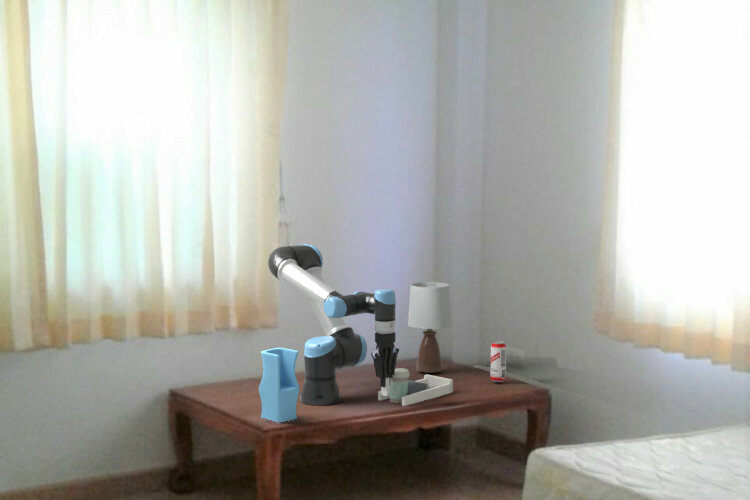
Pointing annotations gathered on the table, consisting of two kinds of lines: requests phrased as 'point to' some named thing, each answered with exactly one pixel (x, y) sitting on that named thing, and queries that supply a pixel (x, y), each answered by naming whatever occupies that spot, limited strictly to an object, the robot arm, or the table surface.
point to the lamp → (429, 320)
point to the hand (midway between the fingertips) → (385, 395)
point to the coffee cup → (399, 385)
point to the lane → (440, 388)
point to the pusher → (417, 387)
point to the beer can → (498, 361)
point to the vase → (279, 385)
